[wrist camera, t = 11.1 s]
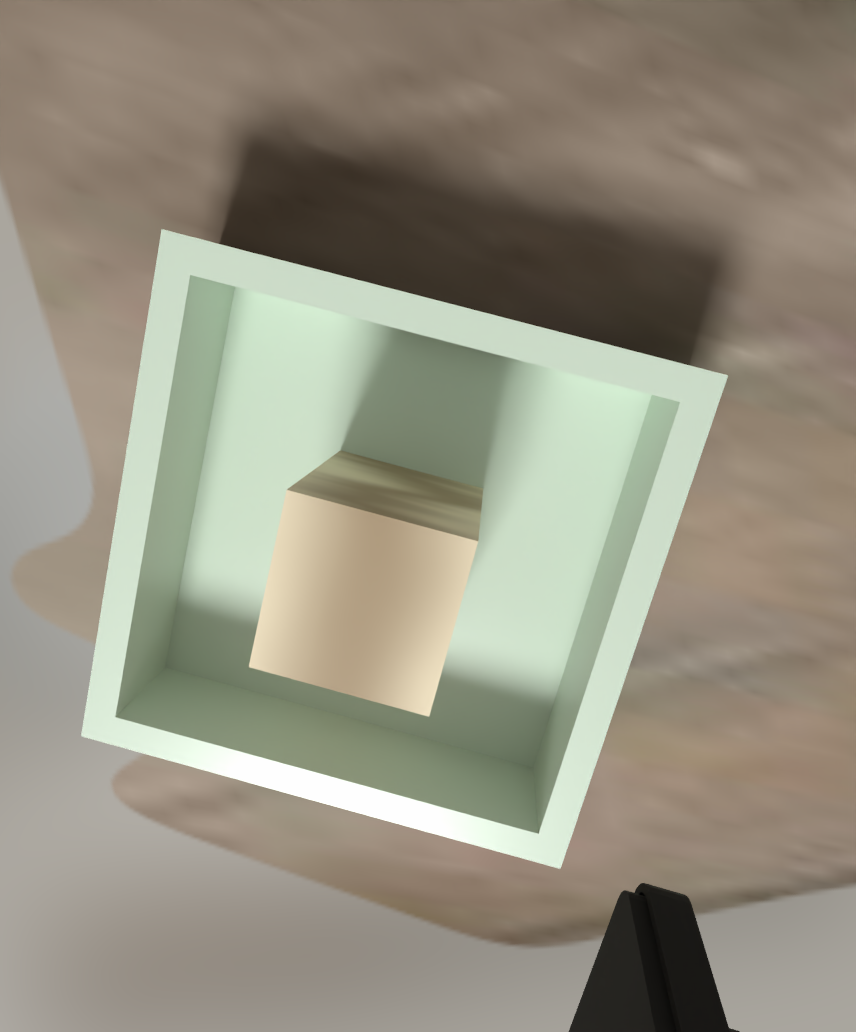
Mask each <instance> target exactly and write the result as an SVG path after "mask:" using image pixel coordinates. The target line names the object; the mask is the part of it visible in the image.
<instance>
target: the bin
mask: <svg viewBox="0 0 856 1032" xmlns="http://www.w3.org/2000/svg"><path fill="white" fill-rule="evenodd" d="M727 377H728V375H724V374H720V373H717V372H713V371H709V370H705V369H701V368H697V367H693V366H689V365H686V364H682V363H678V362H674V361H670V360H666V359H662V358H659V357H655V356H651V355H647V354H643V353H639V352H635V351H631V350H628V349H624V348H620V347H616V346H612V345H608V344H604V343H600V342H597V341H593V340H589V339H585V338H581V337H577V336H573V335H569V334H566V333H562V332H558V331H554V330H550V329H546V328H542V327H538V326H535V325H531V324H527V323H523V322H519V321H515V320H511V319H507V318H504V317H500V316H496V315H492V314H488V313H484V312H480V311H476V310H473V309H469V308H465V307H461V306H457V305H453V304H449V303H446V302H442V301H438V300H434V299H430V298H426V297H422V296H418V295H415V294H411V293H407V292H403V291H399V290H395V289H391V288H387V287H384V286H380V285H376V284H372V283H368V282H364V281H360V280H356V279H353V278H349V277H345V276H341V275H337V274H333V273H329V272H325V271H322V270H318V269H314V268H310V267H306V266H302V265H298V264H294V263H291V262H287V261H283V260H279V259H275V258H271V257H267V256H263V255H260V254H256V253H252V252H248V251H244V250H240V249H236V248H233V247H229V246H225V245H221V244H217V243H213V242H209V241H205V240H202V239H198V238H194V237H190V236H186V235H182V234H178V233H174V232H171V231H167V230H163V229H162V231H161V237H160V243H159V250H158V256H157V262H156V268H155V275H154V281H153V287H152V294H151V300H150V306H149V313H148V319H147V325H146V331H145V338H144V344H143V350H142V357H141V363H140V369H139V375H138V382H137V388H136V394H135V401H134V407H133V413H132V420H131V426H130V432H129V438H128V445H127V451H126V457H125V464H124V470H123V476H122V483H121V489H120V495H119V501H118V508H117V514H116V520H115V527H114V533H113V539H112V546H111V552H110V558H109V564H108V571H107V577H106V583H105V590H104V596H103V602H102V609H101V615H100V621H99V627H98V634H97V640H96V646H95V653H94V659H93V665H92V672H91V678H90V684H89V691H88V697H87V703H86V709H85V716H84V722H83V728H82V734H81V736H82V737H86V738H90V739H93V740H97V741H100V742H104V743H108V744H111V745H115V746H118V747H122V748H126V749H130V750H133V751H136V752H140V753H144V754H147V755H151V756H155V757H158V758H162V759H165V760H169V761H173V762H176V763H180V764H183V765H187V766H191V767H194V768H198V769H202V770H205V771H209V772H212V773H216V774H220V775H223V776H227V777H230V778H234V779H238V780H241V781H245V782H249V783H252V784H256V785H259V786H263V787H267V788H270V789H274V790H277V791H281V792H285V793H288V794H292V795H295V796H299V797H303V798H306V799H310V800H314V801H317V802H321V803H324V804H328V805H332V806H335V807H339V808H342V809H346V810H350V811H353V812H357V813H361V814H364V815H368V816H371V817H375V818H379V819H382V820H386V821H389V822H393V823H397V824H400V825H404V826H407V827H411V828H415V829H418V830H422V831H426V832H429V833H433V834H436V835H440V836H444V837H447V838H451V839H454V840H458V841H462V842H465V843H469V844H473V845H476V846H480V847H483V848H487V849H491V850H494V851H498V852H501V853H505V854H509V855H512V856H516V857H519V858H523V859H527V860H530V861H534V862H538V863H541V864H545V865H548V866H552V867H556V868H559V869H560V868H561V865H562V863H563V860H564V857H565V854H566V851H567V848H568V845H569V842H570V839H571V836H572V833H573V830H574V827H575V824H576V821H577V818H578V815H579V813H580V810H581V807H582V804H583V801H584V798H585V795H586V792H587V789H588V786H589V783H590V780H591V777H592V774H593V771H594V768H595V765H596V762H597V760H598V757H599V754H600V751H601V748H602V745H603V742H604V739H605V736H606V733H607V730H608V727H609V724H610V721H611V718H612V715H613V712H614V710H615V707H616V704H617V701H618V698H619V695H620V692H621V689H622V686H623V683H624V680H625V677H626V674H627V671H628V668H629V665H630V662H631V660H632V657H633V654H634V651H635V648H636V645H637V642H638V639H639V636H640V633H641V630H642V627H643V624H644V621H645V618H646V615H647V612H648V609H649V607H650V604H651V601H652V598H653V595H654V592H655V589H656V586H657V583H658V580H659V577H660V574H661V571H662V568H663V565H664V562H665V559H666V557H667V554H668V551H669V548H670V545H671V542H672V539H673V536H674V533H675V530H676V527H677V524H678V521H679V518H680V515H681V512H682V509H683V507H684V504H685V501H686V498H687V495H688V492H689V489H690V486H691V483H692V480H693V477H694V474H695V471H696V468H697V465H698V462H699V459H700V457H701V454H702V451H703V448H704V445H705V442H706V439H707V436H708V433H709V430H710V427H711V424H712V421H713V418H714V415H715V412H716V409H717V406H718V404H719V401H720V398H721V395H722V392H723V389H724V386H725V383H726V380H727ZM340 450H341V451H345V452H349V453H352V454H356V455H360V456H363V457H367V458H371V459H375V460H378V461H382V462H386V463H390V464H393V465H397V466H401V467H405V468H408V469H412V470H416V471H420V472H423V473H427V474H431V475H435V476H438V477H442V478H446V479H450V480H453V481H457V482H461V483H465V484H468V485H472V486H476V487H480V488H483V497H482V508H481V518H480V529H479V540H478V544H477V548H476V552H475V555H474V559H473V562H472V566H471V569H470V573H469V577H468V580H467V584H466V587H465V591H464V594H463V598H462V602H461V605H460V609H459V612H458V616H457V619H456V623H455V626H454V630H453V634H452V637H451V641H450V644H449V648H448V651H447V655H446V659H445V662H444V666H443V669H442V673H441V676H440V680H439V684H438V687H437V691H436V694H435V698H434V701H433V705H432V709H431V712H430V716H429V717H428V716H424V715H421V714H417V713H414V712H410V711H406V710H403V709H399V708H395V707H392V706H388V705H385V704H381V703H377V702H374V701H370V700H366V699H363V698H359V697H355V696H352V695H348V694H345V693H341V692H337V691H334V690H330V689H326V688H323V687H319V686H315V685H312V684H308V683H305V682H301V681H297V680H294V679H290V678H286V677H283V676H279V675H276V674H272V673H268V672H265V671H261V670H257V669H254V668H250V667H249V663H250V658H251V653H252V649H253V644H254V639H255V635H256V630H257V625H258V621H259V616H260V611H261V607H262V602H263V597H264V593H265V588H266V583H267V579H268V574H269V569H270V565H271V560H272V555H273V551H274V546H275V541H276V537H277V532H278V527H279V523H280V518H281V513H282V509H283V504H284V499H285V495H286V490H287V489H288V488H290V487H291V486H292V485H294V484H295V483H297V482H298V481H299V480H301V479H302V478H303V477H305V476H306V475H307V474H309V473H310V472H312V471H313V470H314V469H316V468H317V467H318V466H320V465H321V464H322V463H324V462H325V461H327V460H328V459H329V458H331V457H332V456H333V455H335V454H336V453H337V452H339V451H340Z"/></svg>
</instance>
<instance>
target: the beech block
mask: <svg viewBox="0 0 856 1032" xmlns="http://www.w3.org/2000/svg"><path fill="white" fill-rule="evenodd" d="M482 497H483V488H480V487H476V486H472V485H468V484H465V483H461V482H457V481H453V480H450V479H446V478H442V477H438V476H435V475H431V474H427V473H423V472H420V471H416V470H412V469H408V468H405V467H401V466H397V465H393V464H390V463H386V462H382V461H378V460H375V459H371V458H367V457H363V456H360V455H356V454H352V453H349V452H345V451H341V450H340V451H339V452H337V453H336V454H335V455H333V456H332V457H331V458H329V459H328V460H327V461H325V462H324V463H322V464H321V465H320V466H318V467H317V468H316V469H314V470H313V471H312V472H310V473H309V474H307V475H306V476H305V477H303V478H302V479H301V480H299V481H298V482H297V483H295V484H294V485H292V486H291V487H290V488H288V489H287V490H286V495H285V499H284V504H283V509H282V513H281V518H280V523H279V527H278V532H277V537H276V541H275V546H274V551H273V555H272V560H271V565H270V569H269V574H268V579H267V583H266V588H265V593H264V597H263V602H262V607H261V611H260V616H259V621H258V625H257V630H256V635H255V639H254V644H253V649H252V653H251V658H250V663H249V667H250V668H254V669H257V670H261V671H265V672H268V673H272V674H276V675H279V676H283V677H286V678H290V679H294V680H297V681H301V682H305V683H308V684H312V685H315V686H319V687H323V688H326V689H330V690H334V691H337V692H341V693H345V694H348V695H352V696H355V697H359V698H363V699H366V700H370V701H374V702H377V703H381V704H385V705H388V706H392V707H395V708H399V709H403V710H406V711H410V712H414V713H417V714H421V715H424V716H428V717H429V716H430V712H431V709H432V705H433V701H434V698H435V694H436V691H437V687H438V684H439V680H440V676H441V673H442V669H443V666H444V662H445V659H446V655H447V651H448V648H449V644H450V641H451V637H452V634H453V630H454V626H455V623H456V619H457V616H458V612H459V609H460V605H461V602H462V598H463V594H464V591H465V587H466V584H467V580H468V577H469V573H470V569H471V566H472V562H473V559H474V555H475V552H476V548H477V544H478V540H479V529H480V518H481V508H482Z"/></svg>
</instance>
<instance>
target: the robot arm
mask: <svg viewBox="0 0 856 1032" xmlns="http://www.w3.org/2000/svg"><path fill="white" fill-rule="evenodd" d="M569 1032H739V1031H736V1030H733V1029H730V1028H729V1027H728V1024H727V1021H726V1017H725V1014H724V1011H723V1007H722V1004H721V1001H720V997H719V994H718V991H717V987H716V984H715V981H714V978H713V974H712V971H711V968H710V964H709V961H708V958H707V954H706V951H705V948H704V944H703V941H702V938H701V935H700V931H699V928H698V925H697V921H696V918H695V915H694V911H693V908H692V905H691V902H690V900H689V898H688V897H687V896H686V895H683V894H680V893H676V892H673V891H670V890H666V889H663V888H659V887H656V886H652V885H649V884H645V883H642V884H640V885H639V886H638V887H637V889H636V891H635V893H633V892H629V891H626V890H625V891H623V892H622V893H621V894H620V896H619V898H618V901H617V903H616V906H615V909H614V911H613V914H612V917H611V920H610V922H609V925H608V928H607V930H606V933H605V936H604V938H603V941H602V944H601V947H600V949H599V952H598V955H597V958H596V960H595V963H594V965H593V968H592V971H591V973H590V976H589V979H588V982H587V984H586V987H585V989H584V992H583V995H582V998H581V1000H580V1003H579V1006H578V1008H577V1011H576V1014H575V1016H574V1019H573V1022H572V1024H571V1027H570V1030H569Z"/></svg>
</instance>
